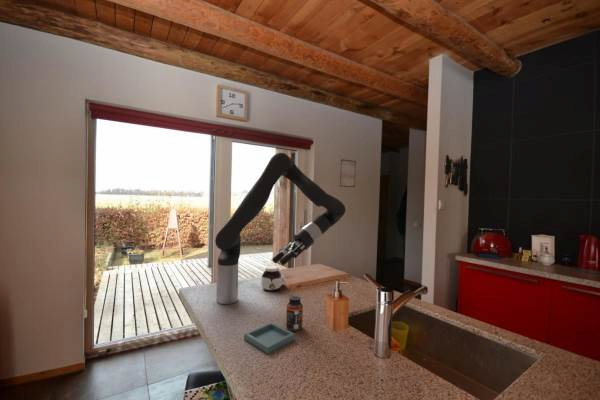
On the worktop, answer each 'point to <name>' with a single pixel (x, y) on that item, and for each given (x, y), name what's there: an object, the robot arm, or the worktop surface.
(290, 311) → the supplement bottle
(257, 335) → the tray
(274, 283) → the spread jar
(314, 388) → the worktop surface
